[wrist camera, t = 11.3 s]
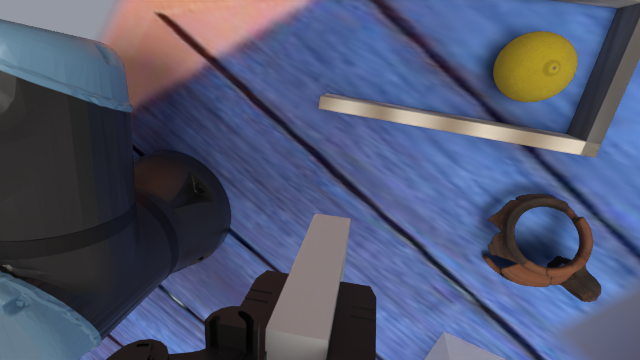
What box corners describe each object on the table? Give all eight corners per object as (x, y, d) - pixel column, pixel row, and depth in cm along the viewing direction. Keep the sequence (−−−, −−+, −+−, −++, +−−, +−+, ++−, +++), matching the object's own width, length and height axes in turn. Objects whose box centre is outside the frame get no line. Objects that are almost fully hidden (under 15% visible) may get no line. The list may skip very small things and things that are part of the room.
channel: (325, 104, 36) (318, 108, 33) (346, -40, 32) (341, -51, 28) (574, 148, 33) (595, 157, 30) (640, -6, 28) (672, -15, 25)
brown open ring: (454, 247, 39) (476, 246, 31) (501, 183, 40) (535, 166, 32) (550, 318, 36) (601, 338, 28) (599, 249, 37) (663, 249, 29)
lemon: (522, 107, 33) (562, 120, 25) (471, 81, 33) (496, 86, 25) (561, 52, 31) (618, 48, 23) (507, 24, 31) (545, 11, 23)
